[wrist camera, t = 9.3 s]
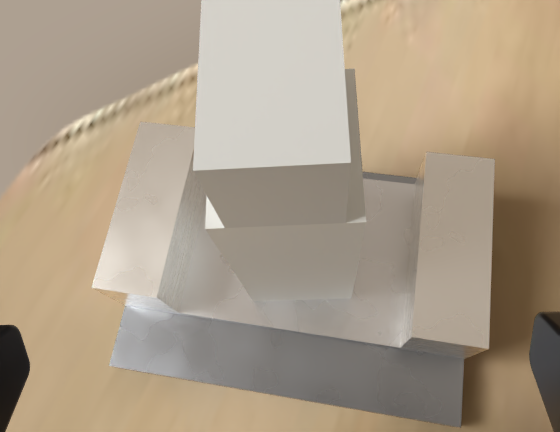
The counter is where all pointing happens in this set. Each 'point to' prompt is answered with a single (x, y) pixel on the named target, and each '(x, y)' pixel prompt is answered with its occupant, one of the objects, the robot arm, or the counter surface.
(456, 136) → the counter surface
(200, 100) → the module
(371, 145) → the counter surface
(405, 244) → the mounting plate
